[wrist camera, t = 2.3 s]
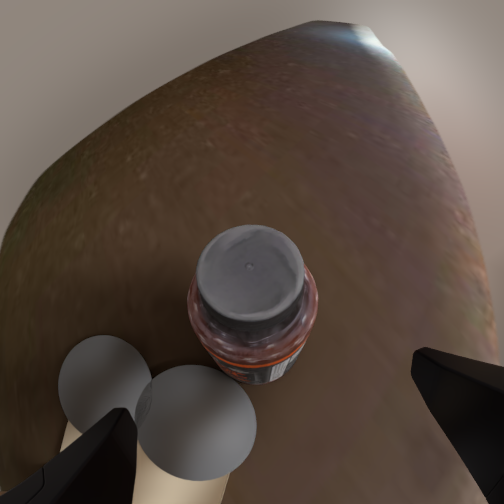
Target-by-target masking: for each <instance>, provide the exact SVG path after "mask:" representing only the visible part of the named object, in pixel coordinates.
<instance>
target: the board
mask: <svg viewBox="0 0 504 504" xmlns="http://www.w3.org/2000/svg"><path fill="white" fill-rule="evenodd" d="M58 391H59V398H60V402H61V406H62V408H63V411H64V413H65V415H66V417H67V418H68V423H67V427H66V431H65V435H64V438H63V442H62V446H61V450H60V452H61V451H63V450H64V449H65V448H66V447H67V446H69V445H70V444H71V443H72V442H74V441H75V440H76V439H77V438H78V437H80V436H81V435H82V434H83V433H84V432H86V431H87V430H88V429H89V428H90V427H92V426H93V425H94V424H95V423H96V422H98V421H99V420H100V419H101V418H102V417H104V416H105V415H106V414H107V413H108V412H110V411H111V410H112V409H113V408H118V407H125V408H127V409H128V410H129V412H130V414H131V416H132V418H133V420H134V422H135V424H136V426H137V429H138V441H137V468H136V479H135V486H134V493H133V500H132V504H221V501H222V497H223V494H224V491H225V487H226V484H227V481H228V477H229V474H230V472H232V471H233V470H234V469H236V468H237V467H238V466H239V465H240V464H241V463H242V462H243V461H244V460H245V459H246V457H247V456H248V454H249V453H250V451H251V449H252V446H253V444H254V441H255V436H256V416H255V412H254V408H253V406H252V403H251V401H250V399H249V397H248V396H247V394H246V393H245V391H244V390H243V389H242V387H241V386H240V385H239V384H238V383H237V382H236V381H234V380H233V379H232V378H231V377H229V376H228V375H226V374H224V373H223V372H221V371H218V370H216V369H213V368H210V367H206V366H202V365H183V366H178V367H174V368H171V369H168V370H166V371H164V372H162V373H161V374H159V375H157V376H156V377H155V378H154V379H152V377H151V373H150V370H149V368H148V365H147V364H146V362H145V360H144V358H143V357H142V356H141V354H140V353H139V352H138V351H137V350H136V349H135V348H134V347H133V346H132V345H130V344H129V343H127V342H126V341H124V340H122V339H120V338H117V337H114V336H108V335H99V336H93V337H90V338H88V339H85V340H83V341H82V342H80V343H79V344H77V345H76V346H75V347H74V348H73V349H72V350H71V351H70V353H69V354H68V355H67V357H66V359H65V360H64V362H63V365H62V367H61V371H60V374H59V381H58ZM6 492H7V491H1V492H0V496H1V495H2V494H4V493H6Z"/></svg>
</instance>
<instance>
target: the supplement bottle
mask: <svg viewBox="0 0 504 504" xmlns="http://www.w3.org/2000/svg"><path fill="white" fill-rule="evenodd" d="M187 308H188V315H189V320H190V323H191V326H192V329H193V330H194V332H195V334H196V336H197V337H198V339H199V340H200V342H201V344H202V345H203V347H204V348H205V349H206V350H207V351H208V353H209V354H210V356H211V357H212V358H213V359H214V361H215V362H216V363H217V365H218V366H219V367H220V368H221V369H222V370H223V372H224V373H225V374H227V375H228V376H230V377H231V378H233V379H235V380H237V381H239V382H242V383H246V384H252V385H261V384H266V383H270V382H273V381H275V380H277V379H278V378H280V377H282V376H283V375H284V374H286V373H287V372H288V371H289V369H290V368H291V367H292V366H293V364H294V363H295V361H296V359H297V357H298V355H299V353H300V351H301V350H302V348H303V346H304V344H305V342H306V340H307V338H308V336H309V334H310V332H311V330H312V328H313V325H314V322H315V319H316V316H317V311H318V293H317V288H316V284H315V281H314V279H313V277H312V275H311V273H310V271H309V270H308V268H307V267H306V266H305V265H304V262H303V259H302V257H301V254H300V251H299V250H298V248H297V247H296V245H295V244H294V243H293V242H292V241H291V240H290V239H289V238H288V237H287V236H286V235H284V234H283V233H281V232H279V231H277V230H275V229H273V228H270V227H267V226H262V225H243V226H237V227H234V228H231V229H228V230H226V231H224V232H222V233H220V234H219V235H217V236H216V237H215V238H213V239H212V240H211V241H210V242H209V243H208V244H207V246H206V247H205V248H204V250H203V251H202V253H201V255H200V257H199V260H198V263H197V267H196V273H195V275H194V277H193V279H192V282H191V284H190V287H189V292H188V297H187Z"/></svg>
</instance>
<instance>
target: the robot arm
mask: <svg viewBox="0 0 504 504" xmlns="http://www.w3.org/2000/svg"><path fill="white" fill-rule="evenodd" d="M411 376H412V378H413V380H414V382H415V384H416V386H417V388H418V390H419V391H420V393H421V395H422V397H423V399H424V401H425V403H426V405H427V407H428V408H429V410H430V412H431V413H432V415H433V416H434V418H435V419H436V421H437V422H438V424H439V425H440V427H441V428H442V430H443V431H444V433H445V434H446V436H447V437H448V439H449V440H450V442H451V443H452V445H453V446H454V448H455V450H456V451H457V453H458V454H459V456H460V457H461V459H462V460H463V462H464V464H465V465H466V467H467V468H468V470H469V472H470V473H471V475H472V476H473V478H474V480H475V481H476V483H477V485H478V486H479V488H480V490H481V491H482V493H483V495H484V496H485V498H486V500H487V502H488V503H489V504H504V367H502V366H498V365H494V364H489V363H485V362H481V361H477V360H473V359H469V358H465V357H461V356H458V355H454V354H450V353H446V352H442V351H439V350H435V349H431V348H428V347H423V348H420V349H418V350H416V351H414V353H413V359H412V366H411ZM137 441H138V429H137V426H136V424H135V422H134V420H133V418H132V416H131V414H130V412H129V410H128V409H127V408H125V407H118V408H113V409H112V410H111V411H110V412H108V413H107V414H106V415H105V416H104V417H102V418H101V419H100V420H99V421H98V422H96V423H95V424H94V425H93V426H92V427H90V428H89V429H88V430H87V431H86V432H84V433H83V434H82V435H81V436H80V437H78V438H77V439H76V440H75V441H74V442H72V443H71V444H70V445H69V446H67V447H66V448H65V449H64V450H63V451H61V452H60V453H59V454H58V455H56V456H55V457H54V458H53V459H51V460H50V461H49V462H48V463H46V464H45V465H44V466H43V467H41V468H40V469H39V470H38V471H36V472H35V473H34V474H32V475H31V476H30V477H28V478H27V479H26V480H24V481H23V482H21V483H20V484H18V485H17V486H15V487H14V488H12V489H11V490H9V491H7V492H6V493H4V494H2V495H1V496H0V504H132V500H133V493H134V486H135V479H136V468H137Z"/></svg>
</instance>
